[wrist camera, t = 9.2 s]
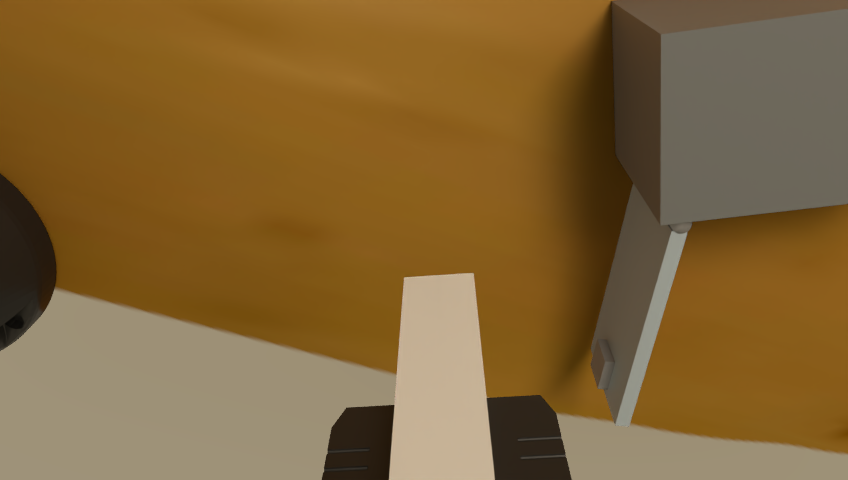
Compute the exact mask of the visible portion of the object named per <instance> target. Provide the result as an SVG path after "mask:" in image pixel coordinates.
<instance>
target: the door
mask: <svg viewBox="0 0 848 480" xmlns="http://www.w3.org/2000/svg"><path fill="white" fill-rule="evenodd" d="M691 226H692V222H686V223H677V224H669V225H660V224H659V222H658V221H657V219H656V218H655V216H654V215H653V213H652V212H651V210H650V208H649V207H648V205H647V204H646V202H645V201H644V199H643V197H642V196H641V194H640V193H639V191H638V190H637V188H636V187H635V185H634V183H633V185H632V189H631V193H630V197H629V201H628V205H627V209H626V213H625V217H624V221H623V224H622V228H621V232H620V236H619V240H618V244H617V248H616V252H615V256H614V260H613V264H612V267H611V271H610V275H609V279H608V283H607V287H606V291H605V295H604V299H603V303H602V306H601V310H600V314H599V318H598V322H597V326H596V330H595V334H594V338H593V342H592V346H591V351H592V354H593V357H592V361H591V368H592V371H593V374H594V378H595V381H596V384H597V387H598V389H604V392H605V395H606V398H607V401H608V404H609V408H610V411H611V414H612V417H613V420H614V423H615V425H618V426H627V427H629V425H630V421H631V418H632V415H633V411H634V408H635V405H636V402H637V398H638V395H639V392H640V388H641V385H642V382H643V378H644V375H645V372H646V368H647V365H648V362H649V359H650V355H651V352H652V349H653V345H654V342H655V339H656V335H657V332H658V329H659V326H660V322H661V319H662V316H663V312H664V309H665V306H666V302H667V299H668V296H669V293H670V289H671V286H672V283H673V279H674V276H675V273H676V269H677V266H678V263H679V259H680V256H681V253H682V250H683V246H684V243H685V240H686V236H687V231H689V230H690V228H691Z"/></svg>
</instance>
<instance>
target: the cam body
mask: <svg viewBox="0 0 848 480" xmlns="http://www.w3.org/2000/svg"><path fill="white" fill-rule="evenodd" d="M611 2H612V39H613V77H614V115H615V153H616V157H617V158H618V160H619V162H620V163H621V165H622V166H623V168H624V169H625V171H626V172H627V174H628V176H629V177H630V179H631V180H632V182H633V183H634V185H635V187H636V188H637V190H638V191H639V193H640V194H641V196H642V197H643V199H644V201H645V202H646V204H647V205H648V207H649V208H650V210H651V212H652V213H653V215H654V216H655V218H656V219H657V221H658V222H659V224H660V225H669V224H677V223H686V222H695V221H704V220H712V219H721V218H730V217H738V216H747V215H756V214H764V213H773V212H782V211H790V210H799V209H808V208H816V207H825V206H834V205H843V204H848V0H617V1H611Z"/></svg>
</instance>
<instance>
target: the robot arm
mask: <svg viewBox="0 0 848 480" xmlns="http://www.w3.org/2000/svg"><path fill="white" fill-rule="evenodd" d="M55 280H56V264H55V256H54V252H53V248H52V244H51V241H50V238H49V236H48V233H47V231H46V229H45V227H44V225H43V223H42V221H41V219H40V218H39V216H38V214H37V213H36V211H35V210H34V209H33V207H32V206H31V204H30V203H29V202H28V201H27V199H26V198H25V197H24V196H23V195H22V194H21V193H20V191H19V190H18V189H17V188H16V187H15V186H14V185H13V184H12V183H10V182H9V181H8V180H7V179H6V178H5V177H4V176H2V175H1V174H0V351H1V350H3V349H4V348H6V347H8V346H9V345H11V344H12V343H13V342H15V341H16V340H17V339H19V337H21V336H22V335H23V334H24V333H25V332H26V331H27V330H28V329H29V328H30V327H31V326H32V324H34V322H35V321H36V320H37V319H38V318H39V317H40V316H41V315H42V313H43V312H44V311H45V309H46V307H47V305H48V304H49V302H50V300H51V297H52V294H53V291H54V287H55ZM565 456H566V455H565V450H564V445H563V441H562V439H561V433H560V428H559V424H558V420H557V415H556V413H555V412H554V411H553V409H552V408H551V407H550V406H549V405H548V404H547V402H546V401H545V400H544V399H543V398H542V397H541V396H540V395H532V396H514V397H497V398H486V389H485V379H484V370H483V360H482V350H481V341H480V331H479V322H478V312H477V302H476V293H475V283H474V273H466V274H450V275H435V276H419V277H404V287H403V300H402V313H401V327H400V340H399V353H398V366H397V380H396V393H395V405H388V406H369V407H351V408H346V409H345V411H344V412H343V413H342V415H341V416H340V417H339V419H338V420H337V421H336V423H335V424H334V425H333V427H332V430H331V434H330V439H329V445H328V454H327V456H326V461H325V466H324V473H323V477H322V480H571V475H570V471H569V467H568V462H567V458H566V457H565Z"/></svg>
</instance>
